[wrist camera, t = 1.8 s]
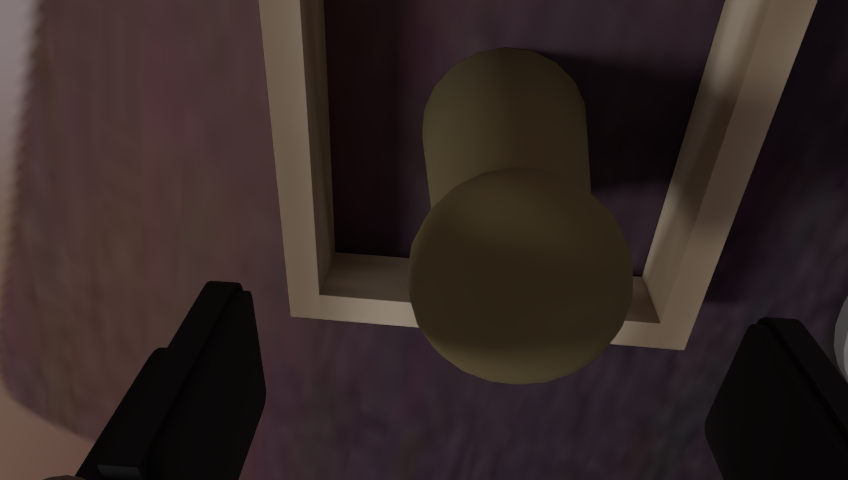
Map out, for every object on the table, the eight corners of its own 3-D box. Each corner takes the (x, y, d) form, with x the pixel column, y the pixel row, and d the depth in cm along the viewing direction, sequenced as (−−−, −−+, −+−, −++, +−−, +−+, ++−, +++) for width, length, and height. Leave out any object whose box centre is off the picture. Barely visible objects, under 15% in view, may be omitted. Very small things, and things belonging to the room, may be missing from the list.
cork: (525, 9, 19) (569, 138, 10) (618, 144, 22) (724, 352, 12) (388, 116, 22) (321, 300, 12) (485, 228, 24) (489, 455, 15)
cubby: (776, -35, 18) (824, -19, 16) (663, 301, 25) (684, 350, 23) (283, -63, 19) (253, -53, 16) (309, 272, 26) (290, 316, 23)
